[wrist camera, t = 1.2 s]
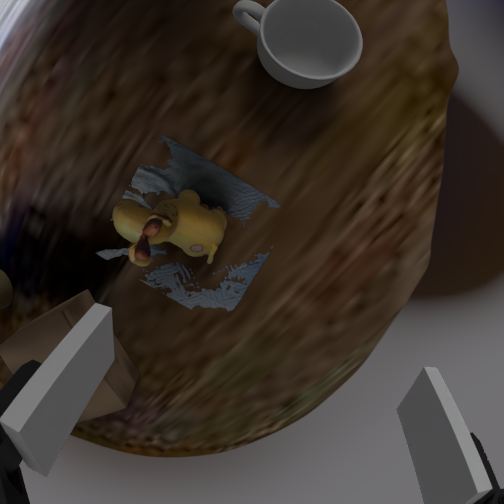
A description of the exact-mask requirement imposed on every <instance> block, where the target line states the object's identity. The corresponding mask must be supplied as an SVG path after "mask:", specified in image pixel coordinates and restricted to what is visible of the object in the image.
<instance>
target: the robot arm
mask: <svg viewBox="0 0 504 504" xmlns="http://www.w3.org/2000/svg"><path fill="white" fill-rule="evenodd" d="M114 359H115V355H114V341H113V324H112V308H110V307H107V306H104V305H101V304H97V303H95V304H94V305H93V306H92V307H91V308H90V309H89V311H88V312H87V313H86V314H85V315H84V316H83V317H82V318H81V319H80V321H79V322H78V323H77V324H76V325H75V326H74V327H73V329H72V330H71V331H70V332H69V333H68V334H67V335H66V337H65V338H64V339H63V340H62V341H61V342H60V344H59V345H58V346H57V347H56V348H55V349H54V351H53V352H52V353H51V354H50V355H49V357H48V358H47V359H46V360H45V361H44V363H43V364H42V363H40V362H38V361H36V360H33V359H32V360H31V361H29V362H27V363H25V364H23V365H22V366H21V367H20V368H19V369H18V370H17V371H16V372H15V374H14V375H13V377H11V378H10V380H9V381H8V382H7V385H5V386H4V387H3V388H2V389H1V390H0V504H30V502H29V499H28V495H27V492H26V488H25V484H24V481H23V477H22V473H21V469H20V467H19V464H20V463H21V461H22V459H23V460H24V462H25V463H26V465H27V466H28V467H29V468H31V469H33V470H34V471H36V472H38V473H40V474H41V475H43V476H45V477H47V475H48V473H49V471H50V469H51V468H52V466H53V464H54V462H55V460H56V458H57V456H58V455H59V453H60V451H61V449H62V447H63V446H64V444H65V442H66V440H67V438H68V437H69V435H70V433H71V431H72V430H73V428H74V426H75V424H76V423H77V421H78V419H79V417H80V416H81V414H82V412H83V411H84V409H85V407H86V405H87V404H88V402H89V400H90V399H91V397H92V395H93V394H94V392H95V390H96V389H97V387H98V385H99V384H100V382H101V380H102V379H103V377H104V376H105V374H106V372H107V371H108V369H109V367H110V366H111V364H112V363H113V361H114ZM397 412H398V415H399V418H400V421H401V424H402V427H403V431H404V434H405V437H406V440H407V444H408V447H409V450H410V454H411V457H412V461H413V464H414V467H415V471H416V475H417V478H418V482H419V486H420V489H421V493H422V497H423V501H424V504H504V489H500V487H499V485H498V483H497V480H496V477H495V475H494V473H493V470H492V468H491V465H490V463H489V461H487V456H486V454H485V453H484V449H483V447H482V445H481V443H480V441H479V440H478V439H477V437H476V436H475V435H474V434H473V433H469V431H468V429H467V427H466V424H465V422H464V420H463V418H462V416H461V414H460V412H459V410H458V408H457V406H456V404H455V402H454V400H453V398H452V396H451V394H450V392H449V390H448V388H447V386H446V384H445V382H444V380H443V378H442V376H441V375H440V373H439V371H438V369H437V368H433V367H423V369H422V371H421V372H420V374H419V376H418V377H417V379H416V380H415V382H414V384H413V385H412V387H411V388H410V390H409V391H408V393H407V394H406V396H405V397H404V399H403V400H402V402H401V403H400V405H399V406H398V408H397Z"/></svg>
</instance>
